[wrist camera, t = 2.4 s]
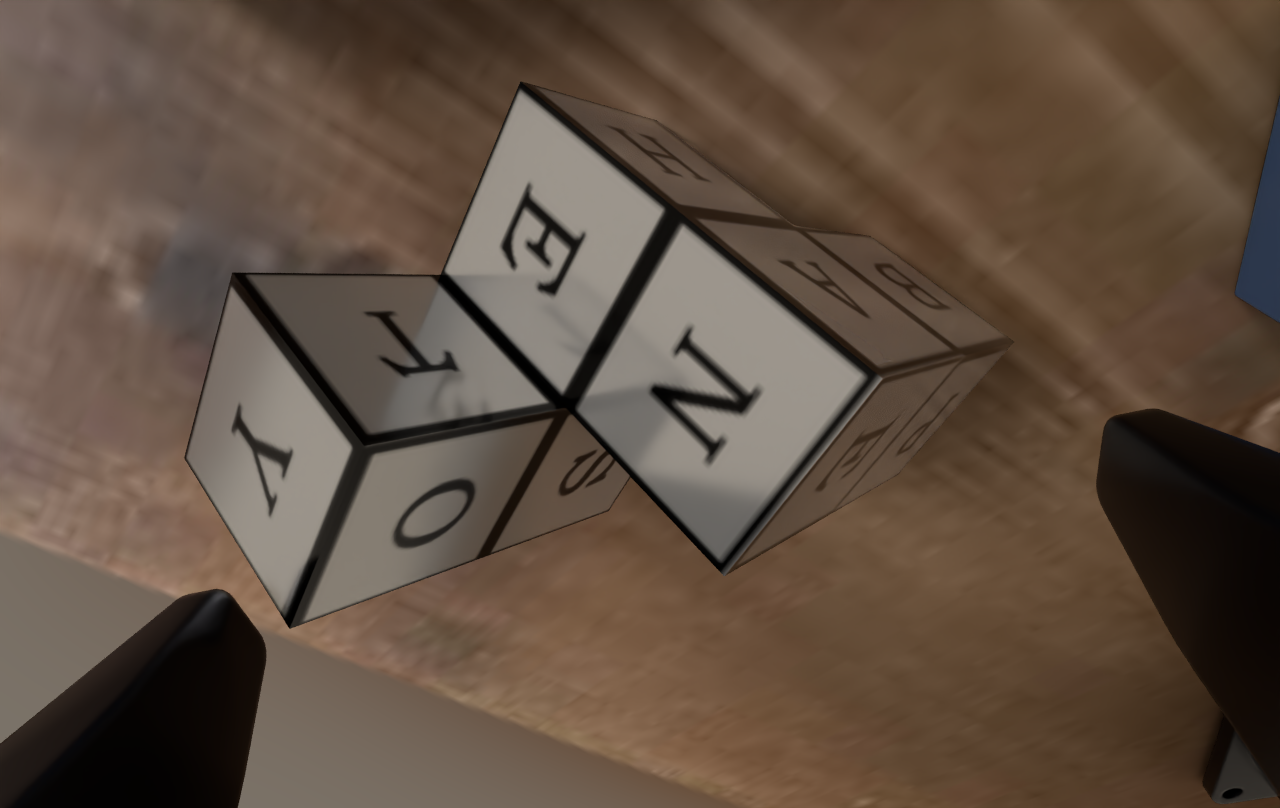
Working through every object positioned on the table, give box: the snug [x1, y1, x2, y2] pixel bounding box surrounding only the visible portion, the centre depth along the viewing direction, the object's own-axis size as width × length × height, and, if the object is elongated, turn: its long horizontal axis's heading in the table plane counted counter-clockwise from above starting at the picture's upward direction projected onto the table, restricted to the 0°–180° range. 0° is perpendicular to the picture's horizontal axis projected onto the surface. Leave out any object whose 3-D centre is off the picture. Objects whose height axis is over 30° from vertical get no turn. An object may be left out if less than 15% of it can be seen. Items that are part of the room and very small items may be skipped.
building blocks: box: [184, 82, 1014, 629], centre depth 10 cm, size 5×5×8 cm
